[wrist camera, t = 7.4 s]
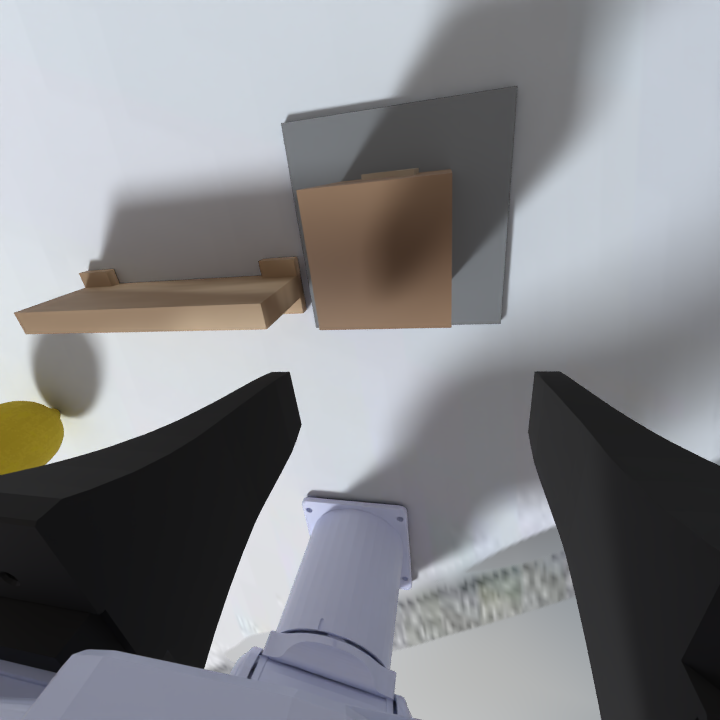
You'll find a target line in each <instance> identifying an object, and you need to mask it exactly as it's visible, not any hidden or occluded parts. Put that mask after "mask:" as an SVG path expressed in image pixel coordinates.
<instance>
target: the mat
mask: <svg viewBox="0 0 720 720" xmlns="http://www.w3.org/2000/svg"><path fill="white" fill-rule="evenodd" d="M516 98H517V86H514V87H507V88H501V89H495V90H488V91H482V92H476V93H469V94H463V95H457V96H451V97H444V98H438V99H432V100H425V101H419V102H413V103H406V104H400V105H394V106H387V107H381V108H375V109H368V110H362V111H356V112H349V113H343V114H337V115H330V116H324V117H318V118H311V119H305V120H299V121H293V122H286V123H281V126H282V132H283V138H284V144H285V149H286V155H287V161H288V167H289V173H290V178H291V184H292V190H293V196H294V202H295V207H296V213H297V219H298V225H299V231H300V236H301V242H302V248H303V254H304V260H305V265H306V271H307V277H308V283H309V289H310V294H311V300H312V306H313V312H314V318H315V323H316V328H319V323H318V317H317V311H316V305H315V299H314V293H313V287H312V281H311V275H310V269H309V263H308V257H307V251H306V245H305V239H304V233H303V227H302V221H301V215H300V209H299V204H298V198H297V192H296V190H300V189H306V188H311V187H316V186H321V185H326V184H331V183H336V182H342V181H350V180H359V179H361V175H362V174H370V173H378V172H387V171H395V170H404V169H412V168H419V173H420V172H429V171H438V170H446V169H451V171H452V314H451V325H464V324H501V311H502V297H503V283H504V269H505V254H506V240H507V226H508V212H509V198H510V183H511V169H512V155H513V141H514V126H515V112H516Z"/></svg>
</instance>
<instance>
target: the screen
mask: <svg viewBox="0 0 720 720" xmlns="http://www.w3.org/2000/svg"><path fill="white" fill-rule="evenodd" d="M258 262H259V267H260V271H261V275H260V276H242V277H225V278H207V279H190V280H172V281H155V282H137V283H119V281H118V279H117V276H116V274H115V271H114V269H107V270H93V271H85V272H82V273H79V274H80V277H81V279H82V281H83V283H84V285H85V288H84V289H81V290H78V291H75V292H72V293H69V294H66V295H64V296H61V297H58V298H55V299H52V300H49V301H46V302H44V303H41V304H38V305H35V306H32V307H29V308H26V309H24V310H21V311H18V312H15V313H14V314H15V316H16V317H17V319H18V321H19V323H20V325H21V326H22V328H23V330H24V332H25V334H58V333H108V332H157V331H206V330H256V329H267V328H268V327H270V326H271V325H272V324H273V323H274V322H275V321H276V320H277V319H278V318H279V317H280V316H281V315H282V314H296V313H304V312H305V311H306V310H307V308H306V303H305V297H304V291H303V286H302V280H301V275H300V269H299V264H298V258H297V257H283V258H269V259H262V260H260V261H258Z"/></svg>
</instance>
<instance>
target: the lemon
mask: <svg viewBox="0 0 720 720" xmlns="http://www.w3.org/2000/svg"><path fill="white" fill-rule="evenodd" d="M63 436H64V428H63V424H62V422H61V420H60V412H59V410H57V409H54V408H48V407H46V406H44V405H42V404H39V403H36V402H30V401H12V402H7V403H3V404H0V475H3V474H8V473H12V472H16V471H21V470H25V469H30V468H34V467H39V466H43V465H45V464H46V463H47V462H48V461H49V460H50V459H51V458H52V457H53V456H54V455H55V454H56V453H57V451H58V450H59V448H60V446H61V443H62V440H63Z"/></svg>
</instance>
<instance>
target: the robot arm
mask: <svg viewBox="0 0 720 720" xmlns="http://www.w3.org/2000/svg"><path fill="white" fill-rule="evenodd" d="M301 425H302V424H301V420H300V416H299V411H298V407H297V402H296V398H295V393H294V389H293V385H292V380H291V376H290V372H271V373H268V374H266V375H264V376H262V377H260V378H258V379H256V380H254V381H252V382H250V383H248V384H246V385H245V386H243V387H241V388H239V389H237V390H236V391H234V392H232V393H230V394H228V395H227V396H225V397H223V398H221V399H219V400H217V401H216V402H214V403H212V404H210V405H208V406H206V407H204V408H202V409H200V410H198V411H196V412H194V413H192V414H190V415H188V416H186V417H184V418H182V419H180V420H178V421H175V422H173V423H171V424H169V425H166V426H164V427H162V428H159V429H157V430H155V431H152V432H150V433H147V434H145V435H142V436H139V437H136V438H133V439H130V440H128V441H125V442H122V443H119V444H116V445H114V446H111V447H108V448H105V449H101V450H98V451H95V452H92V453H88V454H85V455H81V456H78V457H74V458H71V459H67V460H63V461H59V462H55V463H52V464H48V465H43V466H39V467H34V468H30V469H25V470H21V471H16V472H12V473H8V474H3V475H0V720H420V719H416V718H412V715H411V713H410V711H409V709H408V707H407V703H406V701H405V699H404V697H402V696H399V695H396V694H394V690H395V680H396V672H395V671H392V670H390V665H391V656H392V647H393V639H394V630H395V621H396V612H397V603H398V594H399V589H404V590H409V589H411V587H412V576H411V561H410V547H409V533H408V518H407V510H406V508H405V507H403V506H399V505H388V504H377V503H366V502H355V501H344V500H333V499H322V498H311V497H306V498H304V500H303V502H302V506H303V510H304V514H305V518H306V522H307V526H308V530H309V534H310V539H309V542H308V545H307V548H306V550H305V553H304V556H303V559H302V561H301V564H300V567H299V570H298V572H297V575H296V578H295V580H294V583H293V586H292V589H291V591H290V594H289V597H288V600H287V602H286V605H285V608H284V611H283V613H282V616H281V619H280V622H279V624H278V627H277V630H276V631H271V632H270V634H269V637H268V640H267V642H266V645H265V647H264V650H263V649H261V648H259V647H252V648H251V649H250V650H249V652H247V653H245V654H244V655H242V656H241V657H240V658H239V659H238V660H237V662H236V663H235V665H234V667H233V669H232V670H231V672H230V674H224V673H220V672H215V671H210V670H205V669H204V667H205V664H206V660H207V657H208V654H209V650H210V647H211V644H212V641H213V637H214V634H215V631H216V628H217V625H218V622H219V619H220V616H221V613H222V610H223V607H224V604H225V601H226V598H227V595H228V592H229V589H230V586H231V583H232V581H233V578H234V575H235V573H236V570H237V567H238V565H239V562H240V559H241V556H242V554H243V551H244V549H245V546H246V544H247V541H248V539H249V536H250V534H251V531H252V529H253V527H254V524H255V522H256V520H257V518H258V516H259V514H260V512H261V510H262V508H263V506H264V504H265V502H266V500H267V498H268V496H269V495H270V493H271V491H272V489H273V487H274V485H275V483H276V481H277V480H278V478H279V476H280V474H281V472H282V470H283V468H284V466H285V464H286V462H287V461H288V459H289V457H290V455H291V453H292V451H293V448H294V445H295V442H296V440H297V437H298V434H299V431H300V428H301ZM528 433H529V439H530V444H531V449H532V454H533V459H534V463H535V466H536V469H537V472H538V475H539V478H540V481H541V484H542V487H543V490H544V493H545V495H546V498H547V501H548V504H549V507H550V509H551V512H552V515H553V518H554V521H555V524H556V526H557V529H558V532H559V535H560V538H561V541H562V544H563V547H564V551H565V554H566V558H567V562H568V566H569V570H570V574H571V578H572V583H573V587H574V591H575V595H576V599H577V604H578V609H579V613H580V618H581V622H582V626H583V631H584V635H585V640H586V645H587V650H588V655H589V659H590V664H591V669H592V674H593V679H594V684H595V689H596V694H597V698H598V704H599V709H600V715H601V720H720V466H719V465H717V464H715V463H713V462H710V461H708V460H706V459H704V458H702V457H700V456H698V455H696V454H694V453H692V452H690V451H688V450H686V449H684V448H682V447H680V446H678V445H676V444H674V443H672V442H670V441H668V440H666V439H665V438H663V437H661V436H659V435H657V434H656V433H654V432H652V431H650V430H649V429H647V428H645V427H644V426H642V425H640V424H639V423H637V422H635V421H633V420H632V419H630V418H629V417H627V416H625V415H624V414H622V413H621V412H619V411H617V410H616V409H614V408H613V407H611V406H610V405H608V404H607V403H605V402H604V401H602V400H601V399H599V398H598V397H597V396H595V395H594V394H592V393H591V392H589V391H588V390H586V389H585V388H584V387H582V386H581V385H579V384H578V383H576V382H575V381H574V380H572V379H571V378H569V377H568V376H566V375H565V374H563V373H561V372H535V375H534V384H533V393H532V402H531V412H530V421H529V430H528Z"/></svg>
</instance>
